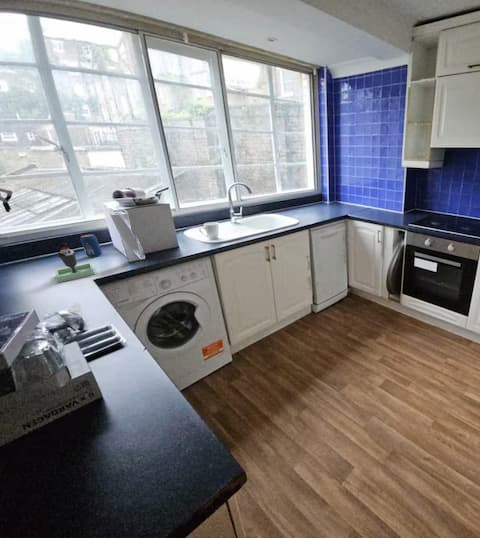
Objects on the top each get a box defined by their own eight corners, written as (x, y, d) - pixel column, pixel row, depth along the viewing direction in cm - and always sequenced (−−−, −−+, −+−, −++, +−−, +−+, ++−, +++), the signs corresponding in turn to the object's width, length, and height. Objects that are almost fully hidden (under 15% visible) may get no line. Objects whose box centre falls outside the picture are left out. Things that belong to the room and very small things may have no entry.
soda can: (100, 252, 174) (92, 233, 169) (104, 254, 170) (96, 235, 166) (85, 256, 169) (77, 236, 164) (89, 258, 165) (80, 238, 160)
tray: (57, 282, 136) (55, 277, 135) (58, 275, 144) (55, 270, 143) (94, 274, 144) (92, 269, 143) (92, 267, 152) (90, 262, 151)
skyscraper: (145, 260, 160) (127, 208, 149) (127, 263, 156) (107, 211, 145) (145, 255, 167) (128, 206, 156) (127, 259, 163) (109, 208, 152)
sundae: (83, 269, 148) (71, 241, 142) (84, 273, 143) (72, 244, 137) (66, 273, 144) (52, 244, 138) (66, 277, 139) (52, 247, 133)
